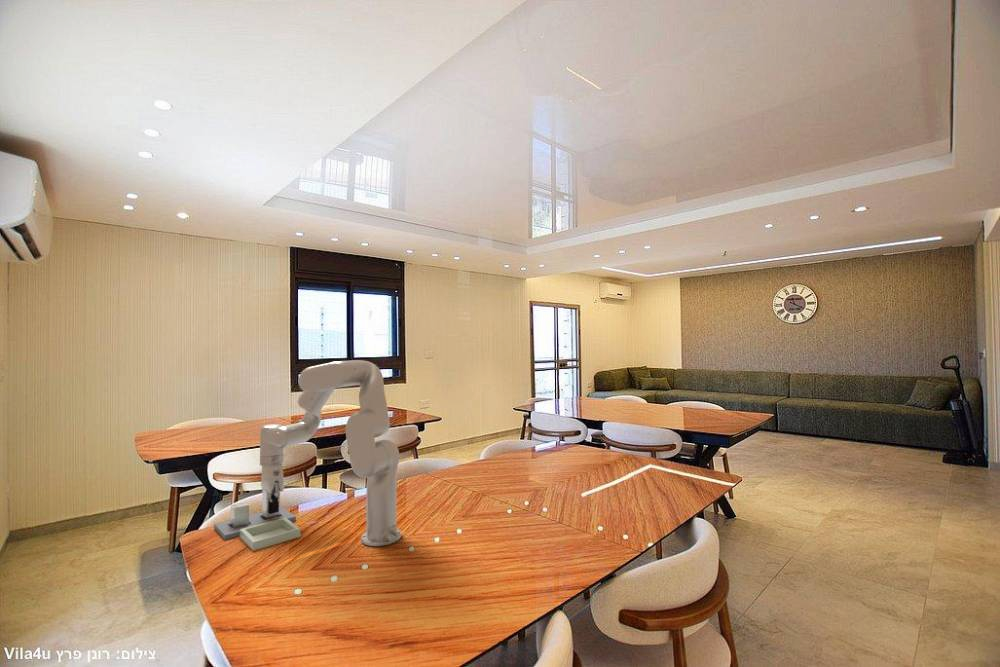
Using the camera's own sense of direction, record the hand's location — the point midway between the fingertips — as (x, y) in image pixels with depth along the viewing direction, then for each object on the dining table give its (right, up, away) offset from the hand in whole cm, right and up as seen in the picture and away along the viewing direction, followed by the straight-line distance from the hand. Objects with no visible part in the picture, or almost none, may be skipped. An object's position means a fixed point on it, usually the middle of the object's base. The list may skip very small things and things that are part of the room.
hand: (271, 510), depth 157 cm
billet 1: (-7, -4, -7) cm, 11 cm away
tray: (+7, -4, -14) cm, 16 cm away
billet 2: (0, -1, 0) cm, 1 cm away
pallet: (-4, -4, -4) cm, 7 cm away
